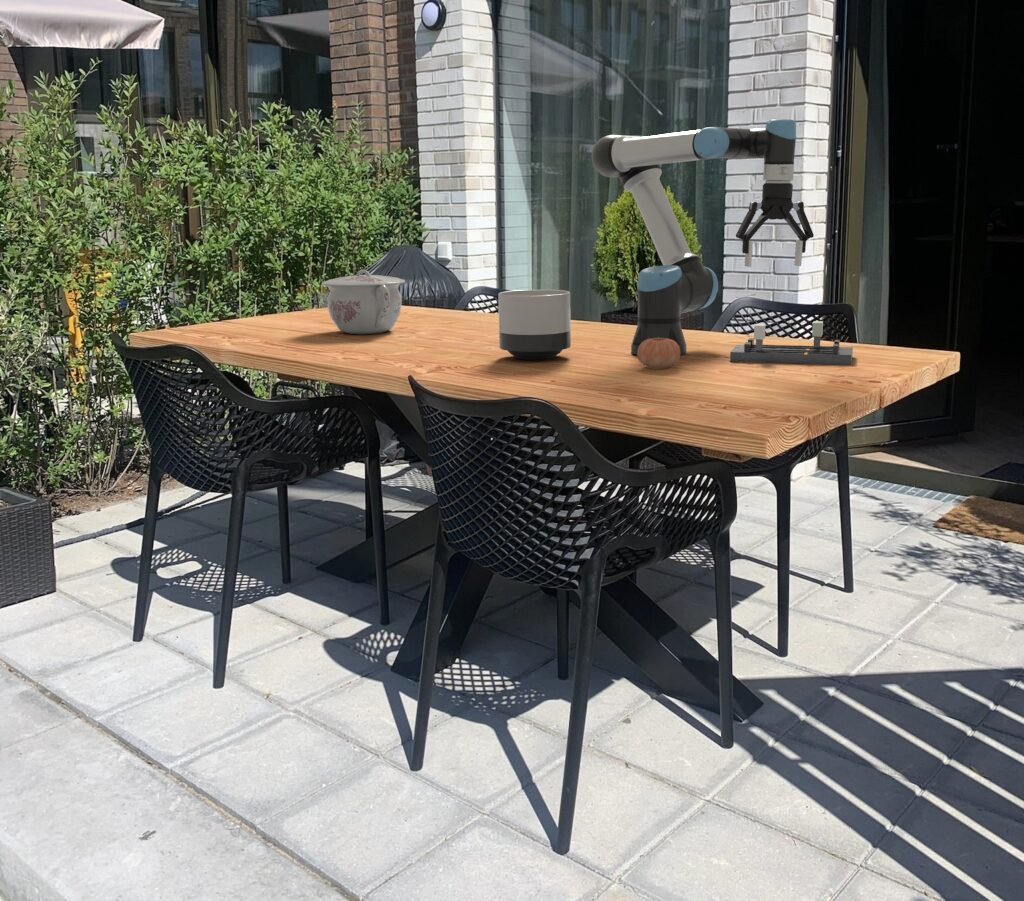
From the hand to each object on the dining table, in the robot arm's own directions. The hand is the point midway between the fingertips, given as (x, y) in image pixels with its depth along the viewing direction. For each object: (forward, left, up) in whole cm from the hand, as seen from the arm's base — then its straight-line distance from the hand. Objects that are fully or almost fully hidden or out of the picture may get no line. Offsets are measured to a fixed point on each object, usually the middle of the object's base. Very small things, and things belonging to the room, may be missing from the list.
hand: (772, 266), depth 282 cm
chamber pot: (-134, +32, -24) cm, 140 cm away
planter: (-61, -14, -24) cm, 67 cm away
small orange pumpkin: (-25, -25, -24) cm, 43 cm away
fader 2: (+12, 0, -21) cm, 24 cm away
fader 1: (-2, -8, -21) cm, 23 cm away
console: (+6, -5, -24) cm, 25 cm away
